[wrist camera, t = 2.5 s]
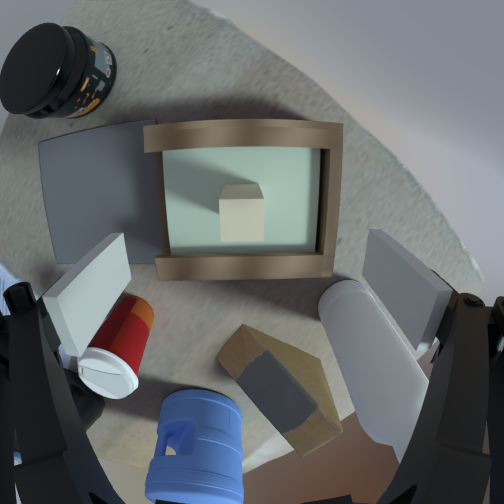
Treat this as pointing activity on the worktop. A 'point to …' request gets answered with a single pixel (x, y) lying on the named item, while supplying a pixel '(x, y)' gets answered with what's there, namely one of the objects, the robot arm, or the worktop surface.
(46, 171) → the charcoal mat
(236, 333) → the sandwich container
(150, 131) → the walnut box
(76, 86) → the supplement container
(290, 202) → the cover plate
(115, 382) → the paper cup
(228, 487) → the water jug
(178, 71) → the worktop surface
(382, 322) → the bottle
